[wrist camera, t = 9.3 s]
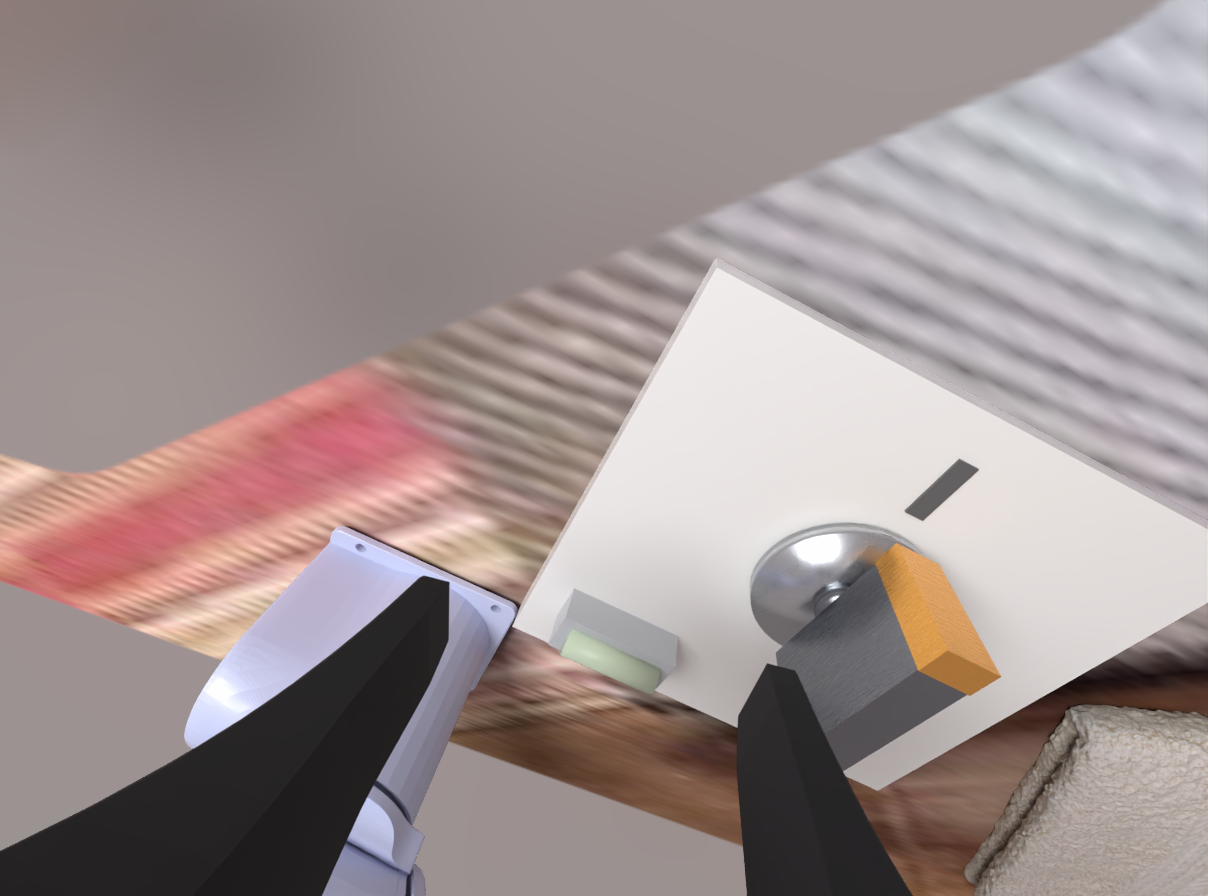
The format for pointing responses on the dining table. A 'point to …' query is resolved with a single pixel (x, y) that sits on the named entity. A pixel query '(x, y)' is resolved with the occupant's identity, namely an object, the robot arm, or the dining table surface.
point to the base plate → (846, 518)
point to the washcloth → (1106, 811)
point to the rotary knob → (867, 632)
